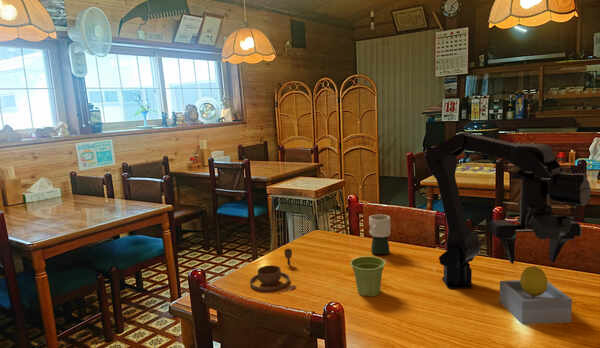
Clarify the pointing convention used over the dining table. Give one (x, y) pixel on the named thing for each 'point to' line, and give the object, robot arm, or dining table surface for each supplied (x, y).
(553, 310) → the grey open box
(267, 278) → the place setting
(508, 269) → the dining table surface
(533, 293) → the lemon
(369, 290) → the plant pot
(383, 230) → the character mug
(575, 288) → the dining table surface
